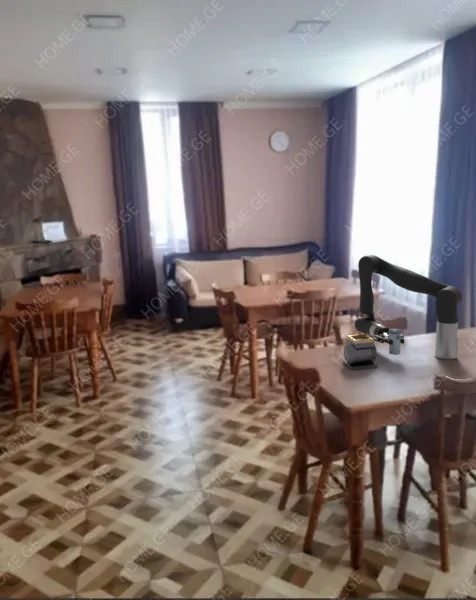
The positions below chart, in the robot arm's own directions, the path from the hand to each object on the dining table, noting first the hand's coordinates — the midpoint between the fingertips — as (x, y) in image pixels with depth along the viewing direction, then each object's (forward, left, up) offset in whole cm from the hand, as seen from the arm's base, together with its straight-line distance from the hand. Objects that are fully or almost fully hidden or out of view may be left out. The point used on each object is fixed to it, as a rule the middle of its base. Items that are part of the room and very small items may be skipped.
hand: (397, 342), depth 230 cm
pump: (+1, -2, -6) cm, 7 cm away
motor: (+17, +4, -10) cm, 20 cm away
